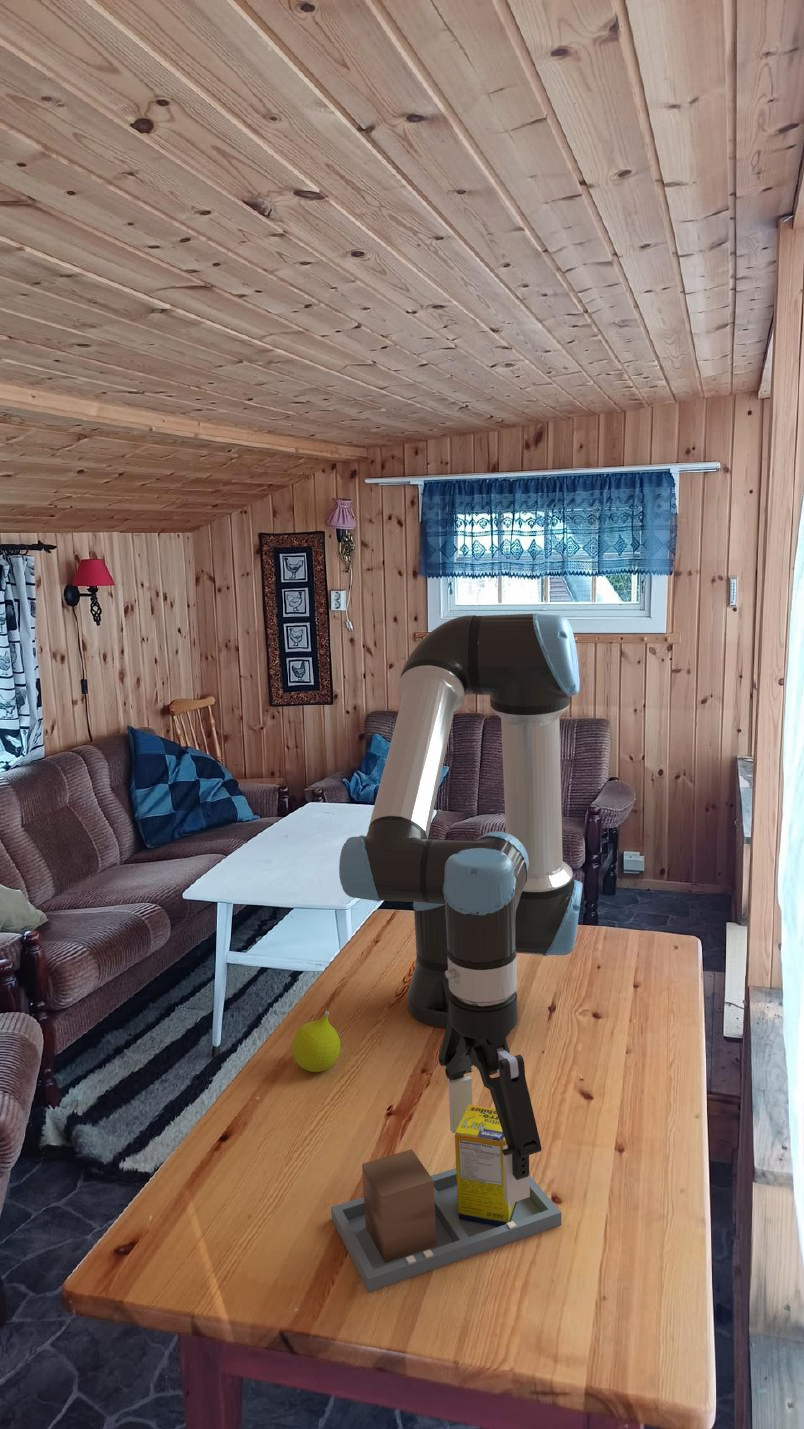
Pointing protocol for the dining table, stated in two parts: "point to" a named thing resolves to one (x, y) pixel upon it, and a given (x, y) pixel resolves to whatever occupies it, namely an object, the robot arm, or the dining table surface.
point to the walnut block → (399, 1205)
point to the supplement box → (481, 1168)
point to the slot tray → (440, 1233)
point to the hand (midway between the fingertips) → (487, 1161)
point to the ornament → (316, 1045)
